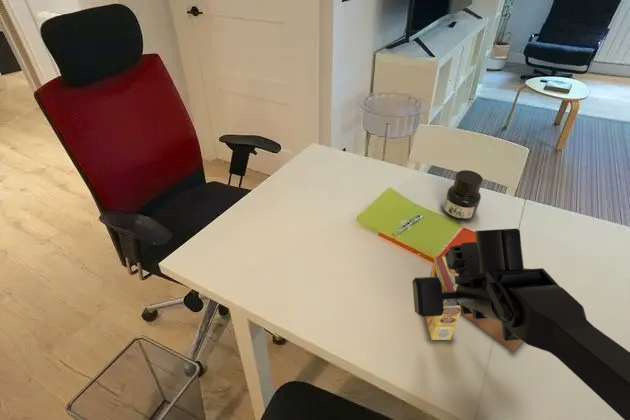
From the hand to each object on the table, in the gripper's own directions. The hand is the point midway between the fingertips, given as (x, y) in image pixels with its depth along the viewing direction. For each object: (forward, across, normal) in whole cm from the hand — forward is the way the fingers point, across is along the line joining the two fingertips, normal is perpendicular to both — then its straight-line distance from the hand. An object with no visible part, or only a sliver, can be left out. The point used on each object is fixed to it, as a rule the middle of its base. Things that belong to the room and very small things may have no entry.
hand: (449, 288), depth 70 cm
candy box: (+9, 0, +8) cm, 12 cm away
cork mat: (+10, -12, +7) cm, 17 cm away
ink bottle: (+34, -19, -17) cm, 43 cm away
